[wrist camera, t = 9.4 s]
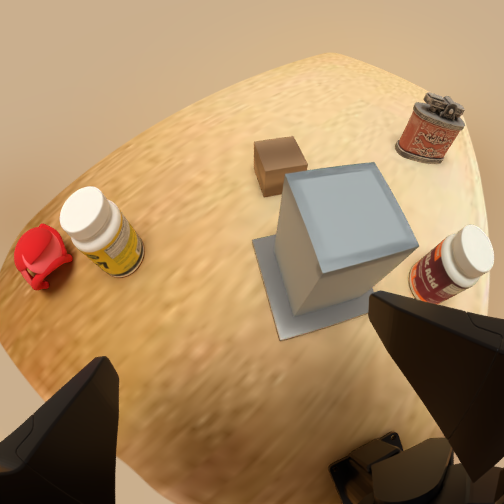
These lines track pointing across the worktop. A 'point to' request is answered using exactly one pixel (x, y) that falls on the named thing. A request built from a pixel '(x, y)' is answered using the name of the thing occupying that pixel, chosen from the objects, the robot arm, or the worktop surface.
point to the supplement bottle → (102, 232)
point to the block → (276, 163)
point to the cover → (338, 235)
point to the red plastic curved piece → (40, 254)
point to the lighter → (431, 129)
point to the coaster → (281, 306)
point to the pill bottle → (452, 265)
